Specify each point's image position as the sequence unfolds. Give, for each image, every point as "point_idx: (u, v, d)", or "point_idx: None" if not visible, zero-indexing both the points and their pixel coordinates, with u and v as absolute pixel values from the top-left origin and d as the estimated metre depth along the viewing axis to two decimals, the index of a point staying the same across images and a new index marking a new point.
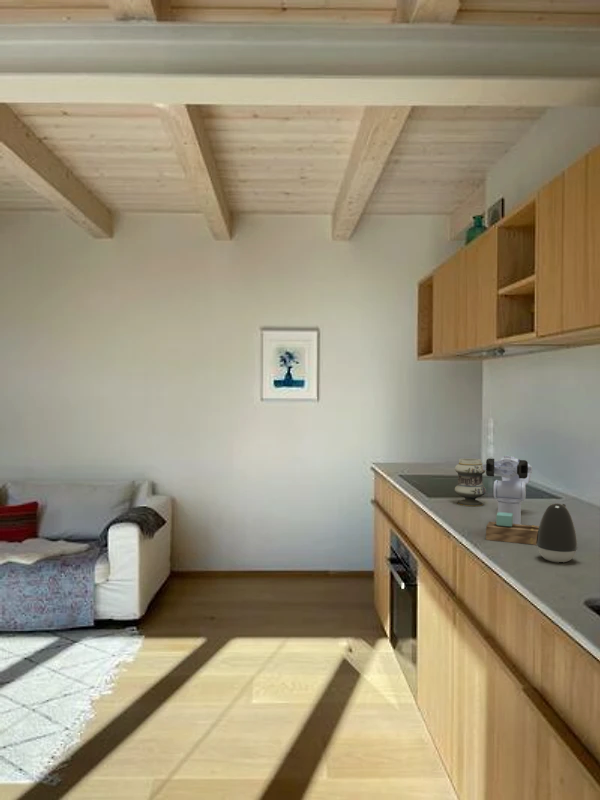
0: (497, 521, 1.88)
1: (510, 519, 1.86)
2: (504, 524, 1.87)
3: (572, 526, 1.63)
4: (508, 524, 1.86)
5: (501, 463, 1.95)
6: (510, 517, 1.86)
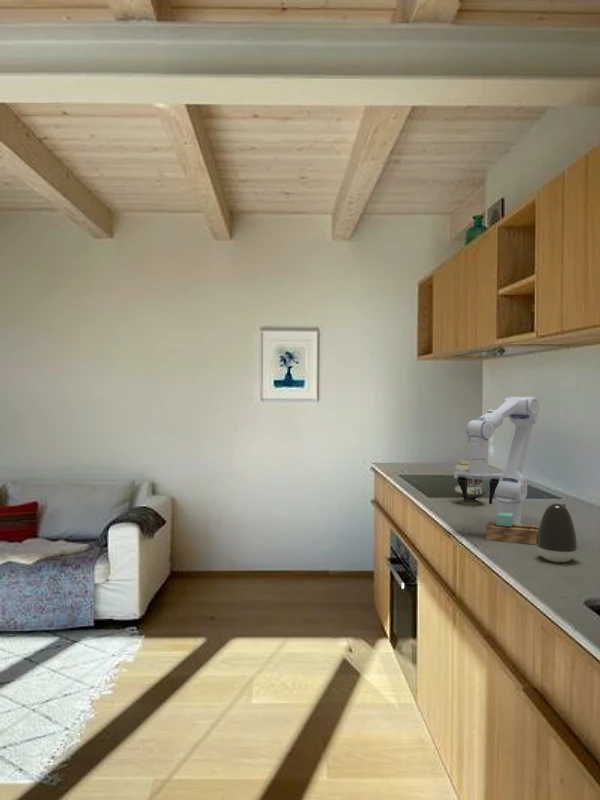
0: (497, 521, 1.88)
1: (510, 519, 1.86)
2: (504, 524, 1.87)
3: (572, 526, 1.63)
4: (508, 524, 1.86)
5: None
6: (510, 517, 1.86)
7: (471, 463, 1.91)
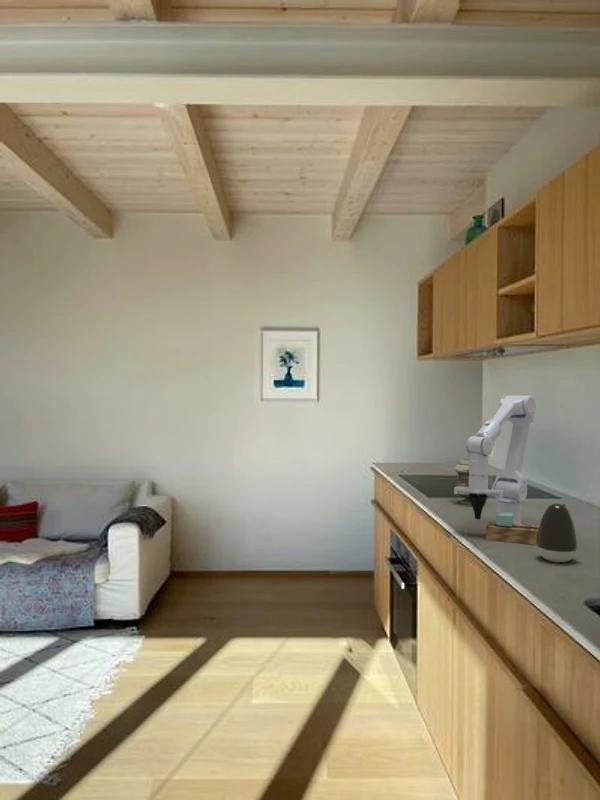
0: (497, 521, 1.88)
1: (510, 519, 1.86)
2: (504, 524, 1.87)
3: (572, 526, 1.63)
4: (508, 524, 1.86)
5: None
6: (510, 517, 1.86)
7: (471, 480, 1.91)
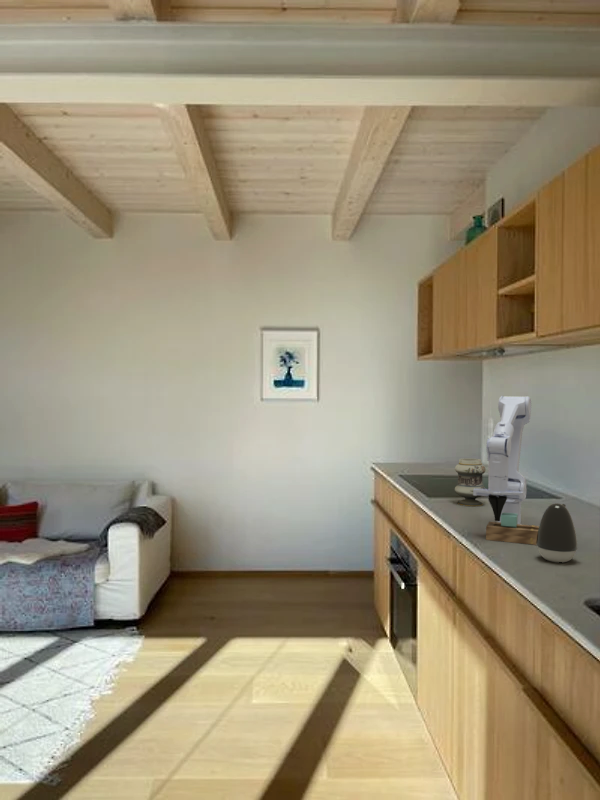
0: (502, 521, 1.87)
1: (515, 519, 1.86)
2: (509, 524, 1.86)
3: (572, 526, 1.63)
4: (513, 524, 1.86)
5: None
6: (515, 517, 1.86)
7: (491, 481, 1.89)
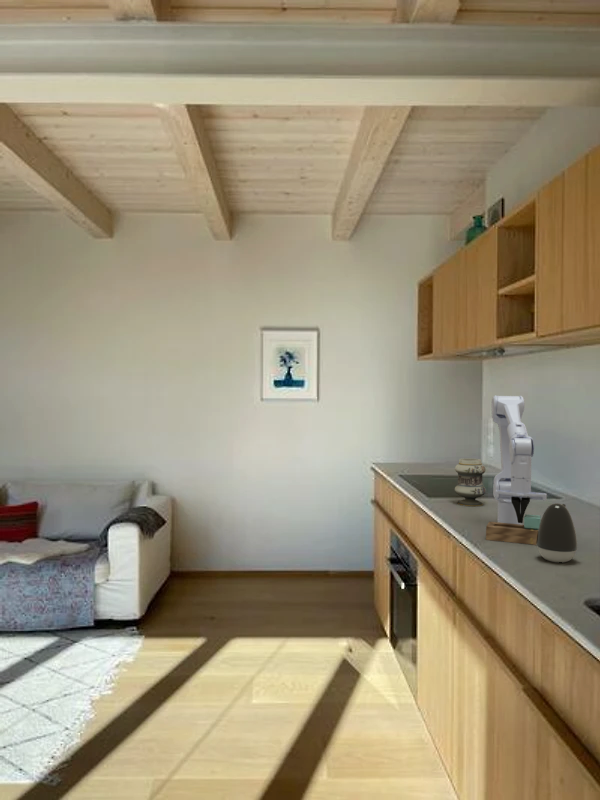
0: (525, 523, 1.84)
1: (538, 521, 1.83)
2: (532, 527, 1.84)
3: (572, 526, 1.63)
4: (536, 527, 1.83)
5: None
6: (538, 519, 1.83)
7: (514, 482, 1.86)
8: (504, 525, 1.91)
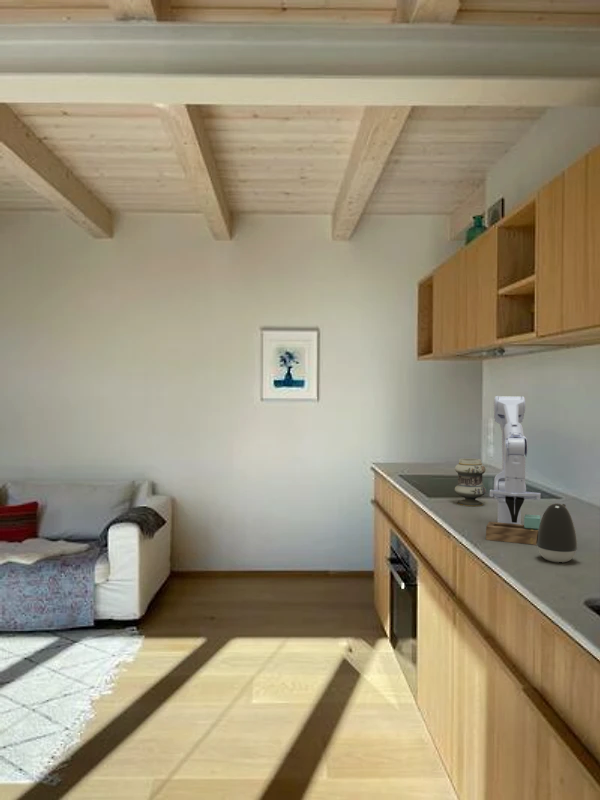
0: (525, 523, 1.84)
1: (538, 521, 1.83)
2: (532, 527, 1.84)
3: (572, 526, 1.63)
4: (536, 527, 1.83)
5: None
6: (538, 519, 1.83)
7: (508, 482, 1.87)
8: (504, 525, 1.91)
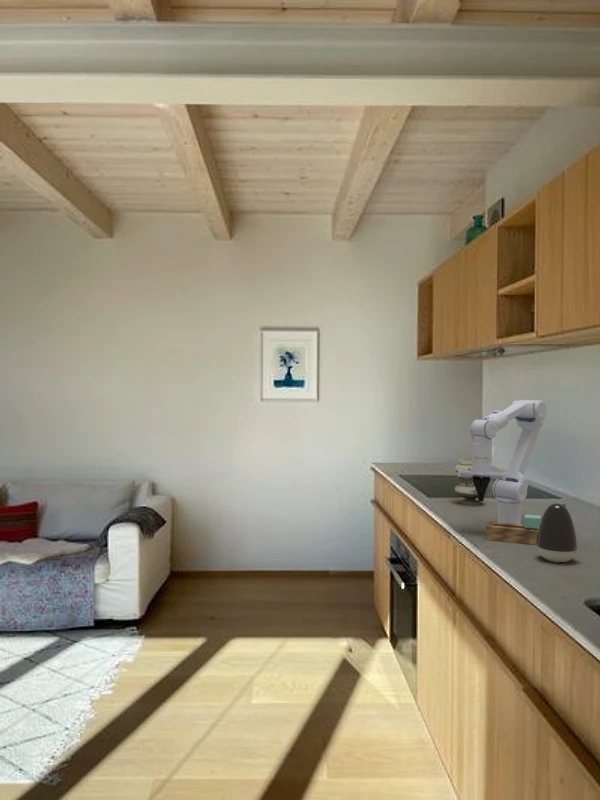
0: (525, 523, 1.84)
1: (538, 521, 1.83)
2: (532, 527, 1.84)
3: (572, 526, 1.63)
4: (536, 527, 1.83)
5: None
6: (538, 519, 1.83)
7: (475, 462, 1.94)
8: (504, 525, 1.91)
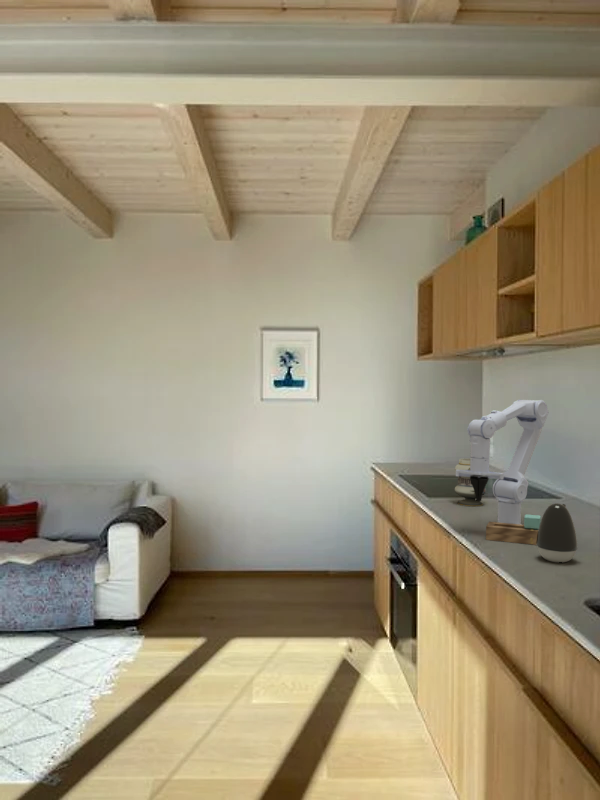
0: (525, 523, 1.84)
1: (538, 521, 1.83)
2: (532, 527, 1.84)
3: (572, 526, 1.63)
4: (536, 527, 1.83)
5: None
6: (538, 519, 1.83)
7: (472, 462, 1.94)
8: (504, 525, 1.91)
